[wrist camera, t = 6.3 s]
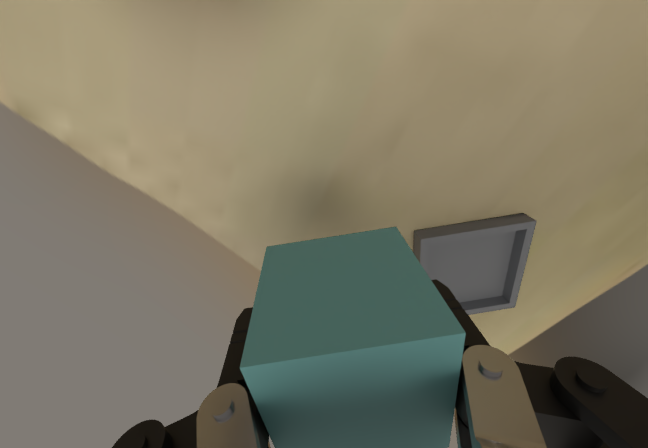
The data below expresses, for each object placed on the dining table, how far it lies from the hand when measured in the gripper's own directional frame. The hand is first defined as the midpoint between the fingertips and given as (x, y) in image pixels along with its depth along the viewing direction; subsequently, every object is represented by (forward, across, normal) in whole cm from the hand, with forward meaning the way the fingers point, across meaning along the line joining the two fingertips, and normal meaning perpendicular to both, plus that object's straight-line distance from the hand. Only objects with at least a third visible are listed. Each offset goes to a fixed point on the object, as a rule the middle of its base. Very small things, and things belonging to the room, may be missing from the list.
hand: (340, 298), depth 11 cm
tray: (+16, -15, +13) cm, 25 cm away
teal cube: (+1, 0, 0) cm, 1 cm away
